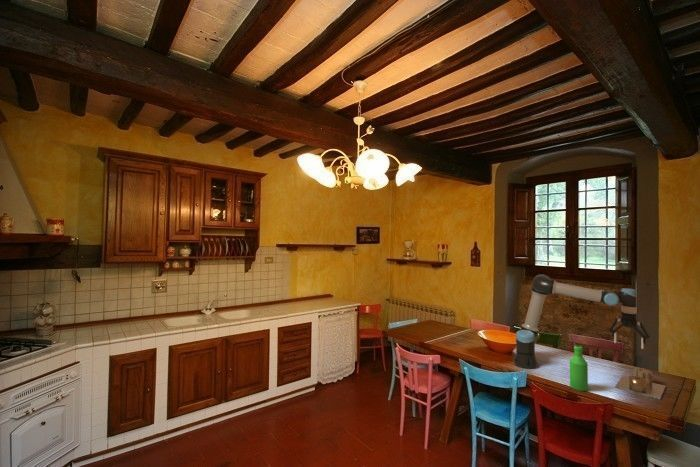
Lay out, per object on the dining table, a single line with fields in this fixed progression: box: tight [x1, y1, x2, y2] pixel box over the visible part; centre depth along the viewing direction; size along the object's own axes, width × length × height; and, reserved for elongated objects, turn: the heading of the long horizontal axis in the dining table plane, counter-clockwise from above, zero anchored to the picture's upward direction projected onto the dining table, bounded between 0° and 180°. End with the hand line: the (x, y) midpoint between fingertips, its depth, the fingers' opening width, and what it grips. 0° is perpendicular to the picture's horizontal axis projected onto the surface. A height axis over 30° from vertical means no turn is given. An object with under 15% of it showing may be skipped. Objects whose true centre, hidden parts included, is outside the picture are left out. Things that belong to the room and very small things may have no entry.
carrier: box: [614, 375, 666, 400], centre depth 199 cm, size 25×20×8 cm
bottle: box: [569, 345, 589, 392], centre depth 198 cm, size 9×9×25 cm
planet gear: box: [632, 367, 653, 385], centre depth 205 cm, size 9×9×7 cm
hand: (628, 345), depth 213 cm, fingers open, 13 cm apart
